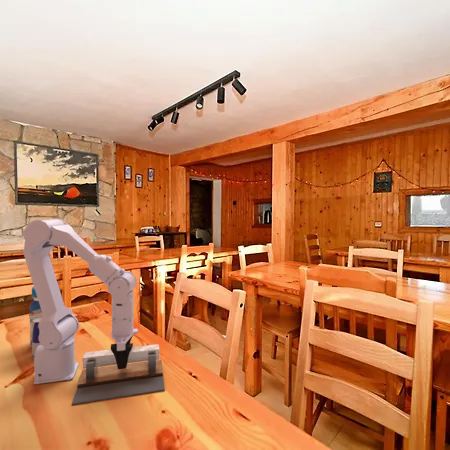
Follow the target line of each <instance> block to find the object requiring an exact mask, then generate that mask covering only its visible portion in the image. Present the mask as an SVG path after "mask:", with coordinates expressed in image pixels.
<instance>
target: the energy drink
mask: <svg viewBox="0 0 450 450" xmlns="http://www.w3.org/2000/svg"><path fill="white" fill-rule="evenodd" d="M41 318H42V316H41V317H37V318H34V319H33V320H32V347H31V356H32V359H33V360H34V357H35V352H36V349H37V347H38V346H39V345H41V344H40V342H39V333H40V331H39V327H38V325H39V322H40V320H41Z"/></svg>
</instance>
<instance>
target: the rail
mask: <svg viewBox="0 0 450 450" xmlns="http://www.w3.org/2000/svg"><path fill="white" fill-rule="evenodd" d="M148 354H156V360H160V345H159V344H147V345H139V346H133V347H132V349H131V351H130V353H129V356H128V362H127V364H131V363H139V362H147V361H148ZM90 361H95V367H98V368H100V367H108V366H116V365H117V363H116V359H115V356H114V354H113V352H112V351H111V349H105V350H104V349H103V350H95V351H93V350H92V351H86V352H84V354H83V357H82V370H84V369H86V362H90Z"/></svg>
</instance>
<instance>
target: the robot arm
mask: <svg viewBox="0 0 450 450" xmlns="http://www.w3.org/2000/svg"><path fill="white" fill-rule="evenodd" d="M22 234H23V235H22V236H23V237H24V247H23V257H24V260H25V262H26V265H27V269H28V271H29V272H28V273H29V274H30V275H29V276H30V279H31V281H32V285H33V287H34V288H35V291H36V294H37V298H38V301H39V304H40V307H41V310H42V313H43V315H42V318H41V320H40V322H39V325H38V327H39V331H40V333H39V342H40V344H41V345H39V346H38V347H37V349H36V352H35V357H34V359H33V362H34V363H33V364H34V365H33V366H34V368H33V369H34V374H33V375H34V381H33V385H40V384H45V383H55V382H56V383H57V382H62V381H69V380H73V379H74V377H75V374H76V372H77V370H78V367H79V365H80V364H79V362H76V358H75V357H76V355H75V354H76V353H75V343H76V342H75V338H76V336H75V334H76V333H77V331H78V330H79V327H80V322H79V320H78V318H77V317H76V316H75V315H74V314H73V311H72V309H71V308H69V307H67V306H65V303H64V300H63V296H62V293H61V290H60V287H59V283H58V281H57V280H58V279H57V276H56V274H55V270H54V267H53V264H52V262H51V261H52V260H51V258H50V253H51V251H53V249H54V247H55V246H64V247H66V248H67V249H69V251H71V252H73V254H75V255H77V256H78V257H79V258H80V259H82V260H83V261H84V262H85V263H87V264H88V271H89V272H91V273H92V274H93V275H95V277H97V279H99V280H100V281H101V282H102V283H104V284H105V286H107V291H108V293H109V294H110V295H111V332H110V337H111V338H112V339H113V340H114V341H113V342H115V343H111V344H110V350H111V351H112V352H113V354H114V356H115V359H116V363H117V367H118V369H126V367H127V364H128V363H127V362H128V356H129V353H130V351H131V349H132V347H134V343H133V342H131V341H132V338H133V337H134V335H137V334H138V333H139V332H138V331H139V330H138V328H134V305H135V304H134V288H135V287H136V285H137V279H136V277H135V275H134V274H133V272H131V271H126V270H125V268H123V267H122V268H121V267H120V266H119V265H118V264H117V263H115V262H114V261H113V257H111V256H110V255H106V254H98V253H97V252H96V251H95V250H94V249H93V247H92V246H90V245H89V244H88V243H87V242H86V241H85V240H84V239H83V238H82V237H81V236H80V235H79V234H78V233H76V231H75V230H74V229H73V227H72V225H69V224H67V222H66V221H64V219H61V218H52V219H35V220H32V221H30V222H29V223H27V226H26V227H25V228H24V230H23V231H22Z"/></svg>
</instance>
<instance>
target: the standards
mask: <svg viewBox="0 0 450 450" xmlns="http://www.w3.org/2000/svg"><path fill="white" fill-rule="evenodd" d="M163 370H164V369H163V363H162V359H157V360H156V354H148V361H141V362H133V363H127V367H126V369H118V367H117V365H109V366H101V367H95V361H90V362H86V368H85V369H82V370H81V373H80V376H79V379H78V382H77V384H76V386H77V388H82V387H89V386H96V385H103V384H110V383H117V382H124V381H131V380H138V379H145V378H152V377H159V376H163V377H164V371H163ZM77 388H76V389H77Z"/></svg>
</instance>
